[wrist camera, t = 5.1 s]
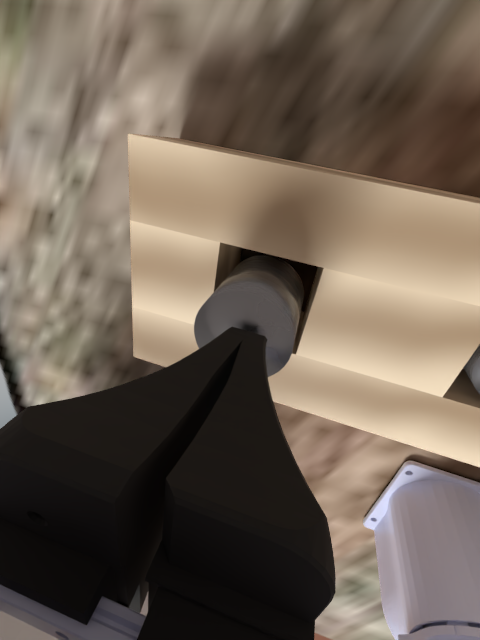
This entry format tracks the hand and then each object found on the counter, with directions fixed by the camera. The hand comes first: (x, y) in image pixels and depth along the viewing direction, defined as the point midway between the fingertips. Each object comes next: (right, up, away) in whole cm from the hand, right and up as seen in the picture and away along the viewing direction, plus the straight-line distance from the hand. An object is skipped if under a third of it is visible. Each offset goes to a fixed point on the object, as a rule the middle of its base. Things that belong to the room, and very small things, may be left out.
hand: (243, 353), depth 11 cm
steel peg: (+1, +3, +5) cm, 6 cm away
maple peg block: (+8, +3, +7) cm, 11 cm away
